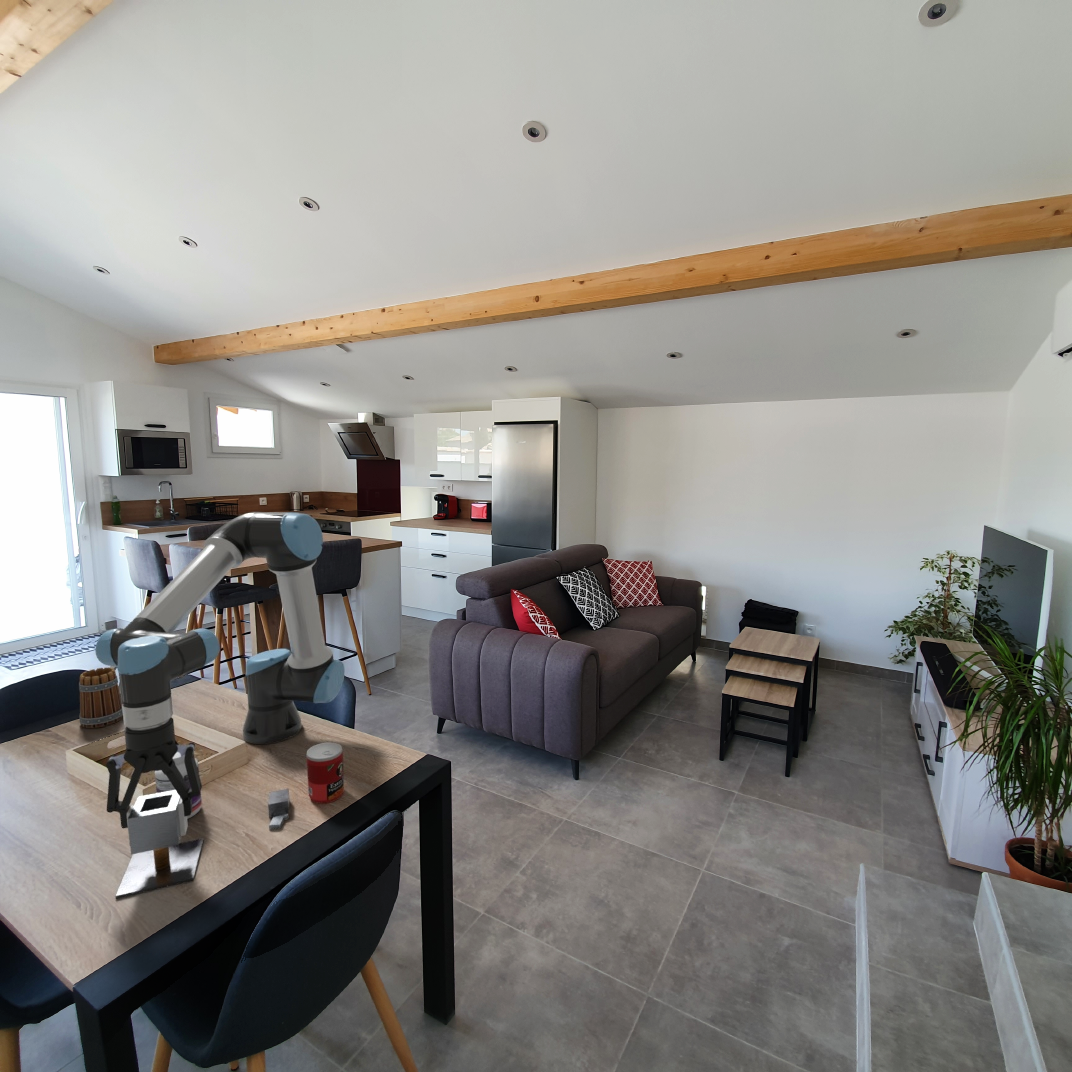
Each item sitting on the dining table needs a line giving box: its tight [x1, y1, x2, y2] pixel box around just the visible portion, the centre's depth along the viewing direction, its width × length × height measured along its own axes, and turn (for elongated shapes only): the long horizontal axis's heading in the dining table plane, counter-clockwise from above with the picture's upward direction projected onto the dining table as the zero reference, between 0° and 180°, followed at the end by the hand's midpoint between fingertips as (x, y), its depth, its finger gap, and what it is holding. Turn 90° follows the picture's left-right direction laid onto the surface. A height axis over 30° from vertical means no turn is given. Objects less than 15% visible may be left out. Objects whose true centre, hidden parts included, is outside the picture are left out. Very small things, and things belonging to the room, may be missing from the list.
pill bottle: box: [154, 752, 203, 820], centre depth 125 cm, size 8×8×14 cm
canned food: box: [305, 741, 345, 804], centre depth 133 cm, size 8×8×11 cm
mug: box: [78, 666, 123, 729], centre depth 171 cm, size 16×11×15 cm
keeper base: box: [115, 837, 204, 900], centre depth 109 cm, size 12×12×9 cm
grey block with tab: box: [267, 788, 290, 830], centre depth 126 cm, size 10×4×3 cm, turn 22°
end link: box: [127, 790, 182, 856], centre depth 108 cm, size 7×7×7 cm
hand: (159, 836), depth 109 cm, fingers closed on end link, 7 cm apart
